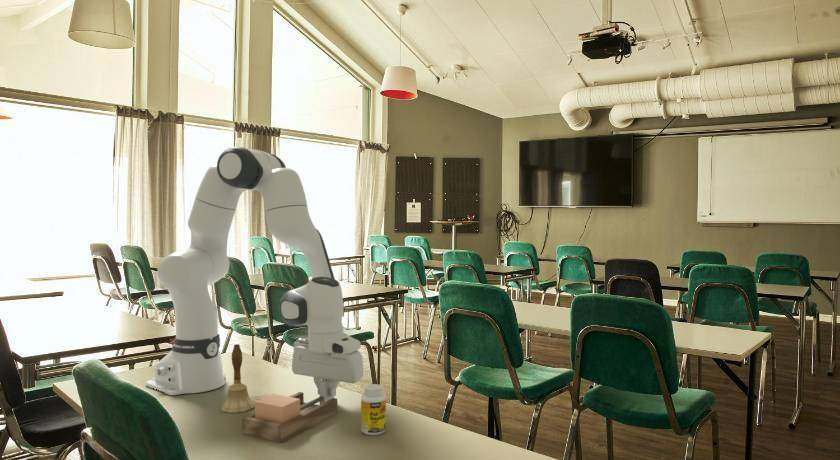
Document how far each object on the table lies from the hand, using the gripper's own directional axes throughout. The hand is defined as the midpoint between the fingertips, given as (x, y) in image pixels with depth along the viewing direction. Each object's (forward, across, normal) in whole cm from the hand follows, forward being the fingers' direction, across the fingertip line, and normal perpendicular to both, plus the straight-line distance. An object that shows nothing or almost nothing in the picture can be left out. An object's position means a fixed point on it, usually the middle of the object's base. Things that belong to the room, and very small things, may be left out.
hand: (326, 395), depth 148 cm
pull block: (+2, 0, -10) cm, 10 cm away
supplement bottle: (+3, +20, -10) cm, 22 cm away
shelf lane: (+2, 0, -14) cm, 14 cm away
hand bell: (+3, -19, -12) cm, 22 cm away
